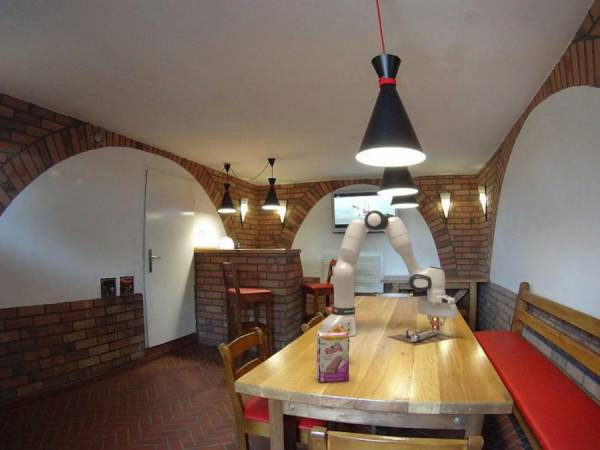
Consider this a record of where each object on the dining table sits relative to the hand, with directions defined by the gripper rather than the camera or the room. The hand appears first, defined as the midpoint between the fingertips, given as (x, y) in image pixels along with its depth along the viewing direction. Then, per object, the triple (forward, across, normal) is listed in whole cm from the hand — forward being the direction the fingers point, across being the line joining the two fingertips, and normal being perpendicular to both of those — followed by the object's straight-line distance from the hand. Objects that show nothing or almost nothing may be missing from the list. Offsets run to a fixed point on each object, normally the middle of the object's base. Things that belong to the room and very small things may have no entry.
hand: (436, 324), depth 192 cm
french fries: (+7, -12, -66) cm, 67 cm away
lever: (+4, -1, -11) cm, 11 cm away
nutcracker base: (+7, -4, -10) cm, 12 cm away
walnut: (+5, -5, -16) cm, 17 cm away
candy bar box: (+7, 0, -83) cm, 83 cm away
